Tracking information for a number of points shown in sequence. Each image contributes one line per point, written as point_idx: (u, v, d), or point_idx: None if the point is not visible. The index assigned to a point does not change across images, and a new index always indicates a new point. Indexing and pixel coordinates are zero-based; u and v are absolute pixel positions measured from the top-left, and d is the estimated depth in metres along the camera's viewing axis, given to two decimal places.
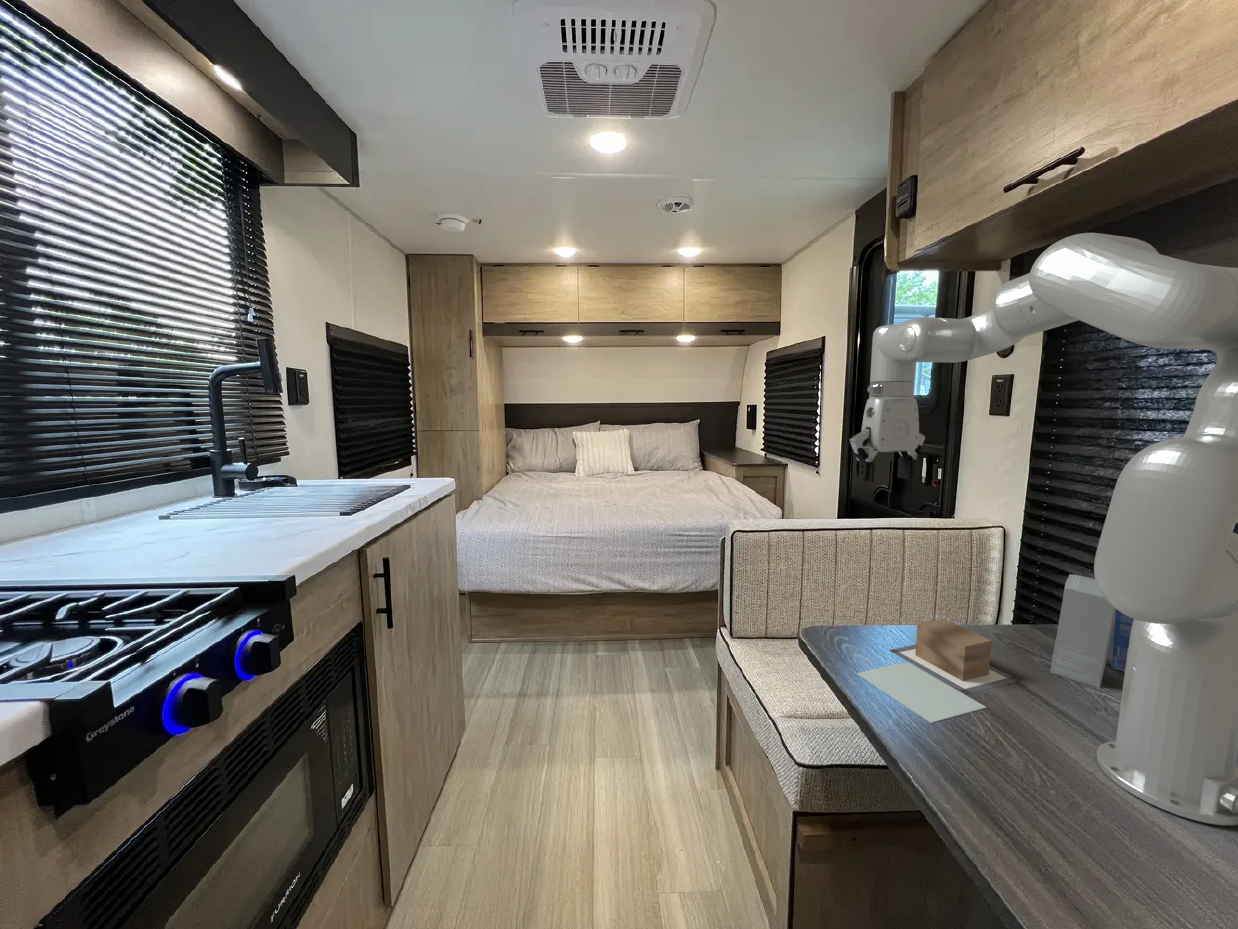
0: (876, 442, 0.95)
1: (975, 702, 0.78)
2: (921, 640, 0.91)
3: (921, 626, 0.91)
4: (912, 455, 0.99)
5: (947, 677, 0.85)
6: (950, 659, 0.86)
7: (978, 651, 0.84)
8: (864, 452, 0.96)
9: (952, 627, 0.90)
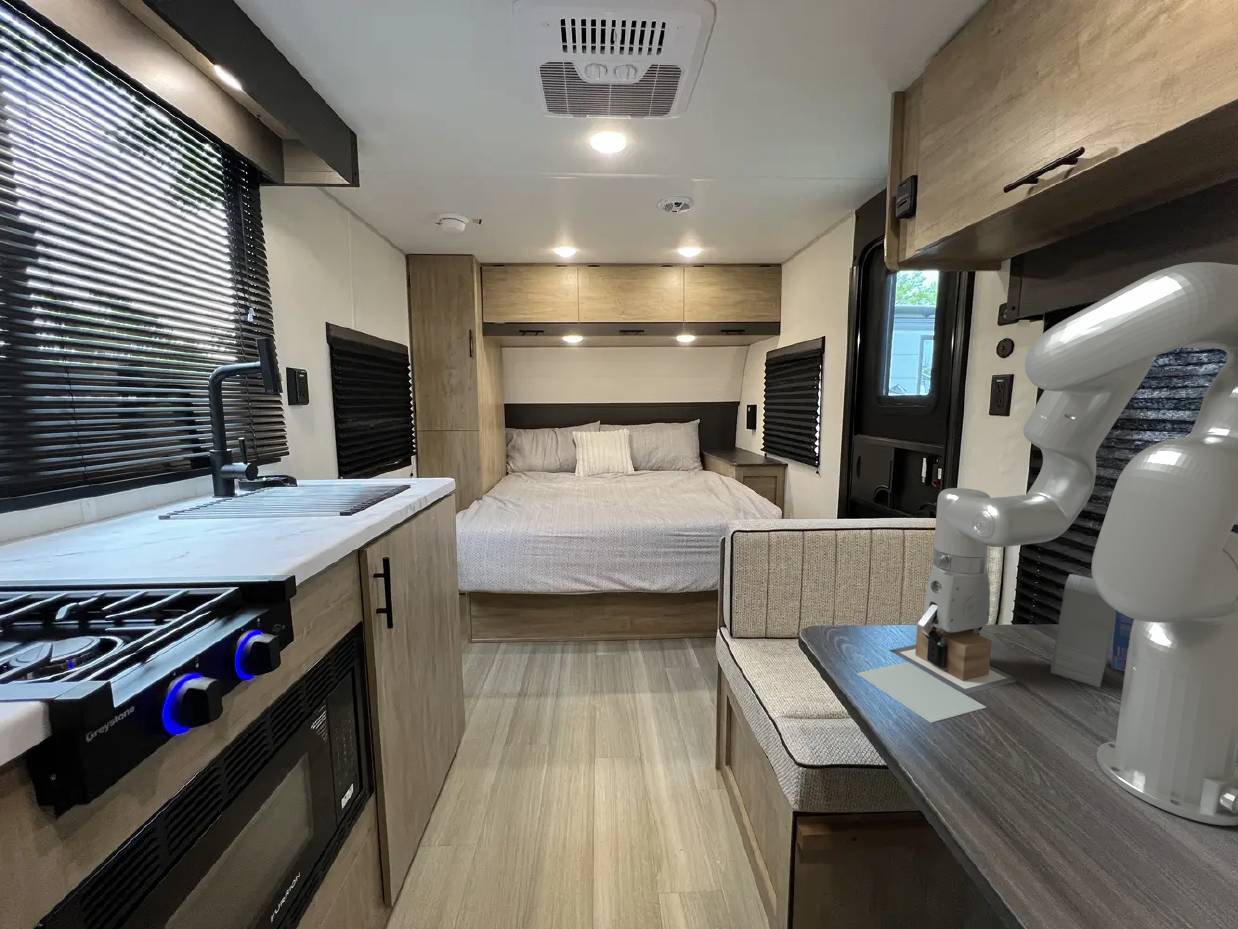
0: (944, 623, 0.84)
1: (975, 702, 0.78)
2: (921, 640, 0.91)
3: None
4: None
5: (947, 677, 0.85)
6: (950, 659, 0.86)
7: (978, 651, 0.84)
8: (936, 635, 0.86)
9: None
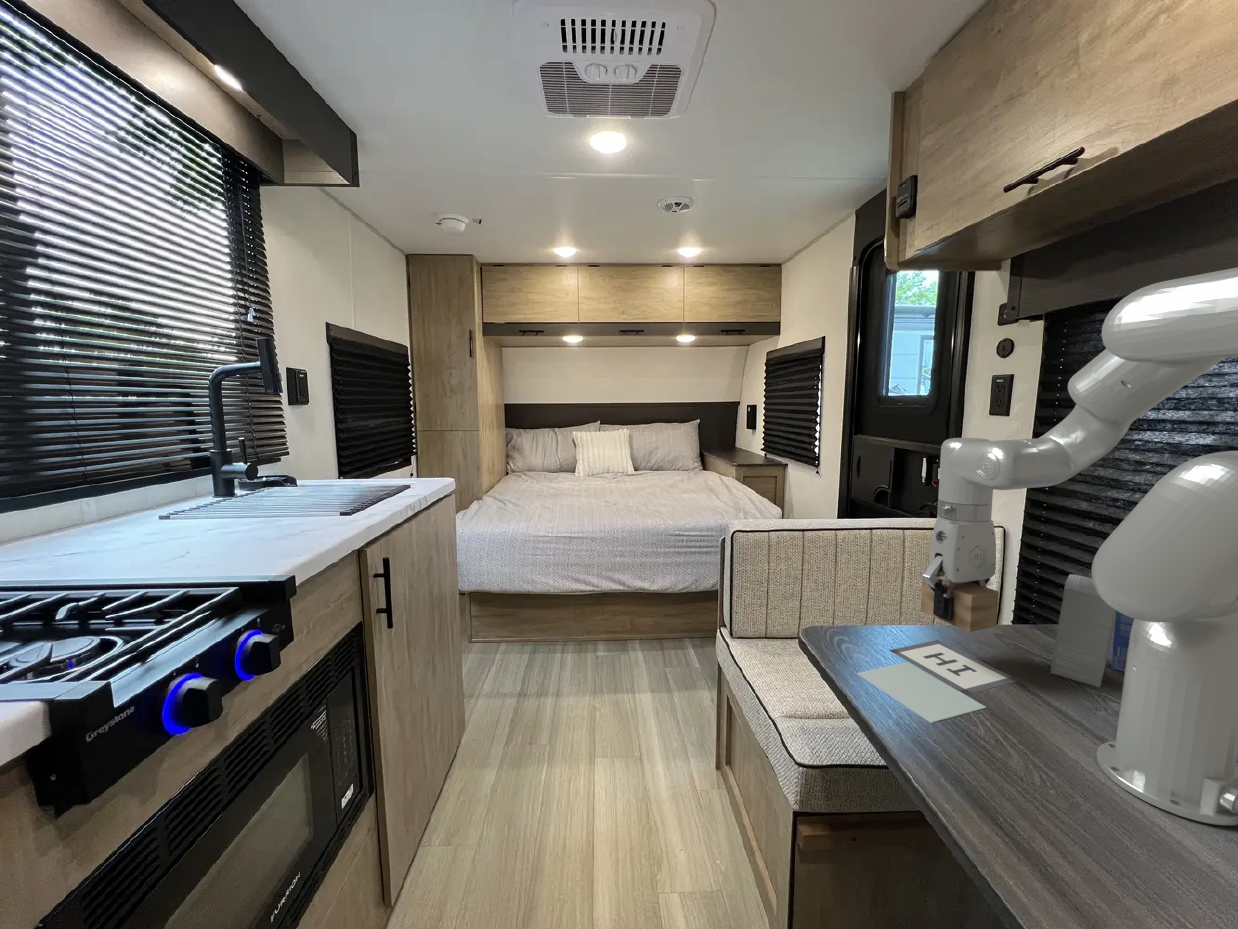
0: (950, 573, 0.83)
1: (975, 702, 0.78)
2: (927, 595, 0.89)
3: None
4: None
5: (947, 677, 0.85)
6: (956, 611, 0.84)
7: (985, 602, 0.83)
8: (942, 587, 0.84)
9: None
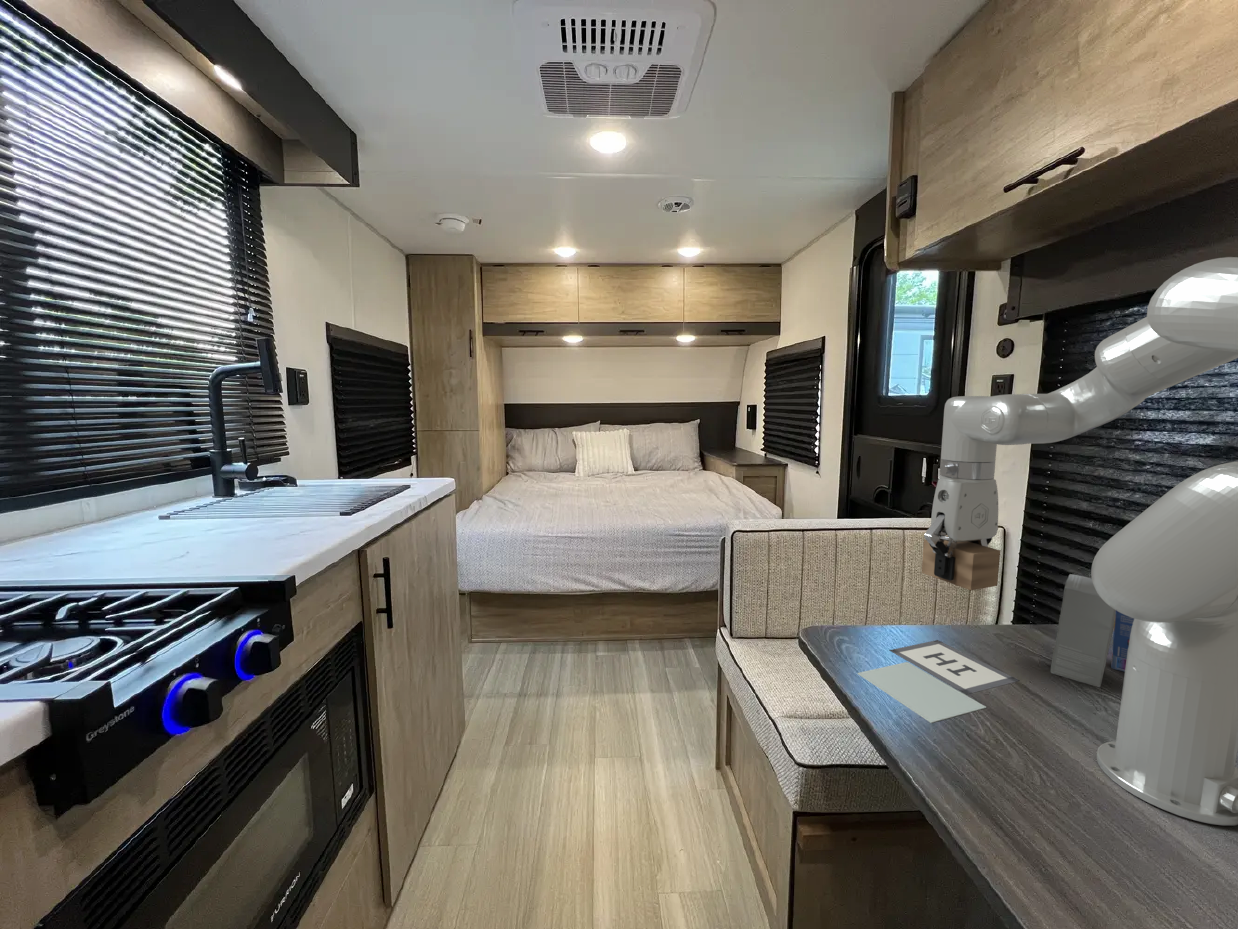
0: (951, 531, 0.82)
1: (975, 702, 0.78)
2: (927, 556, 0.89)
3: (927, 541, 0.89)
4: None
5: (947, 677, 0.85)
6: (957, 570, 0.84)
7: (987, 561, 0.82)
8: (943, 546, 0.84)
9: (959, 542, 0.88)
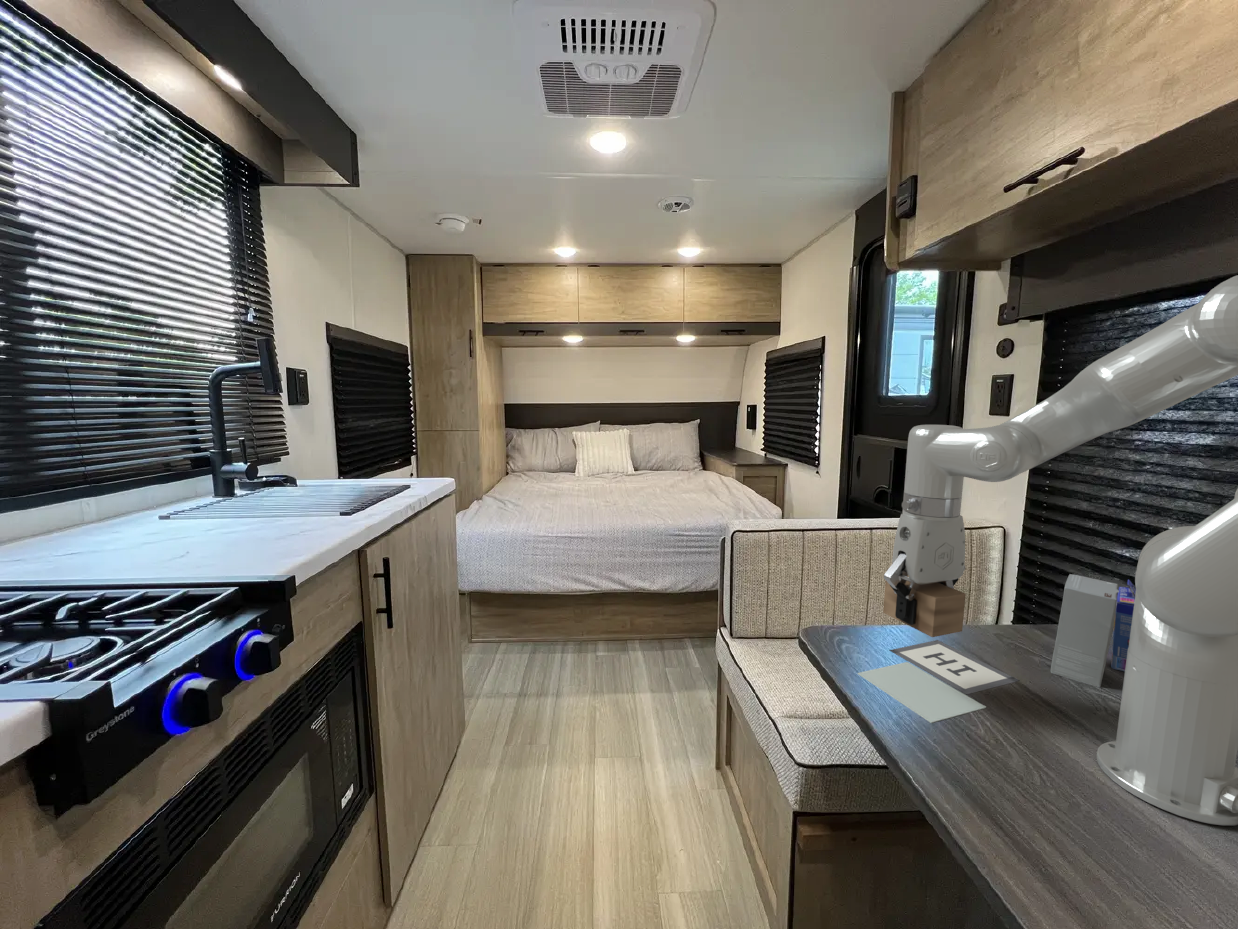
0: (913, 573, 0.75)
1: (975, 702, 0.78)
2: (889, 595, 0.82)
3: None
4: None
5: (947, 677, 0.85)
6: (919, 614, 0.77)
7: (950, 605, 0.76)
8: (904, 588, 0.77)
9: None
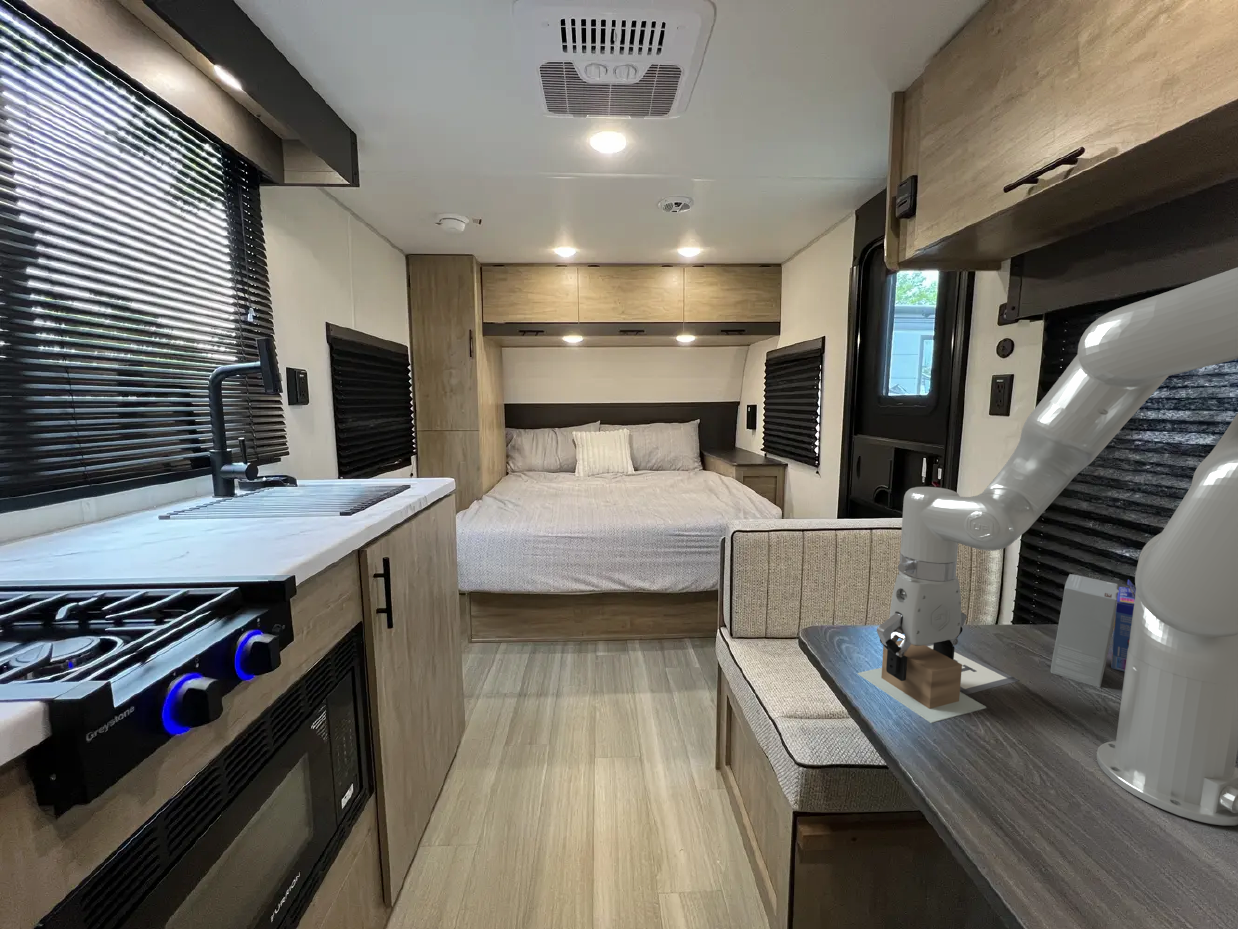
0: (909, 635, 0.77)
1: (975, 702, 0.78)
2: None
3: None
4: (952, 641, 0.81)
5: None
6: (916, 684, 0.78)
7: (947, 677, 0.77)
8: (894, 645, 0.78)
9: (921, 648, 0.82)
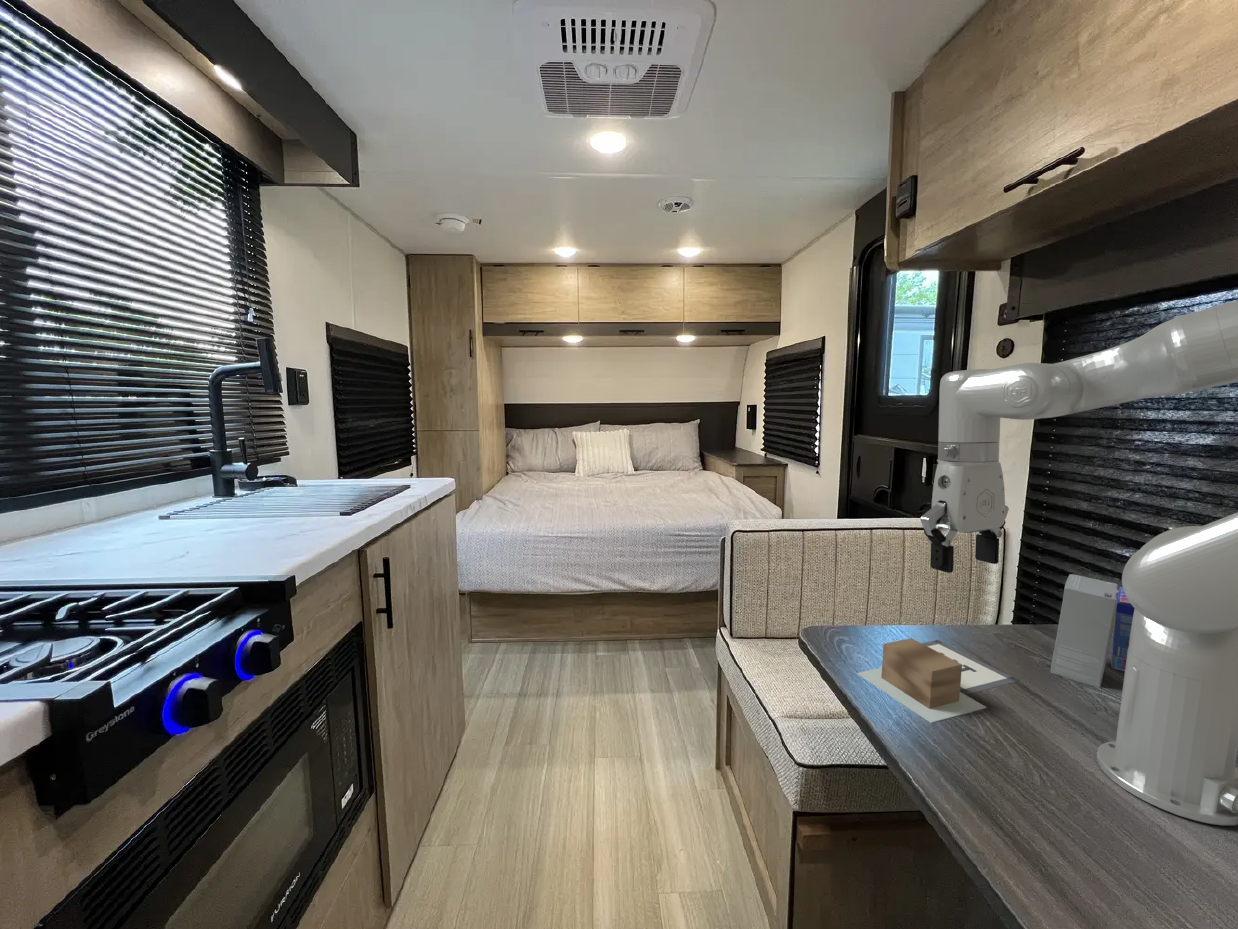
0: (956, 521, 0.73)
1: (975, 702, 0.78)
2: (887, 662, 0.83)
3: (887, 647, 0.83)
4: (996, 533, 0.78)
5: None
6: (916, 684, 0.78)
7: (947, 677, 0.77)
8: (940, 534, 0.74)
9: (921, 648, 0.82)
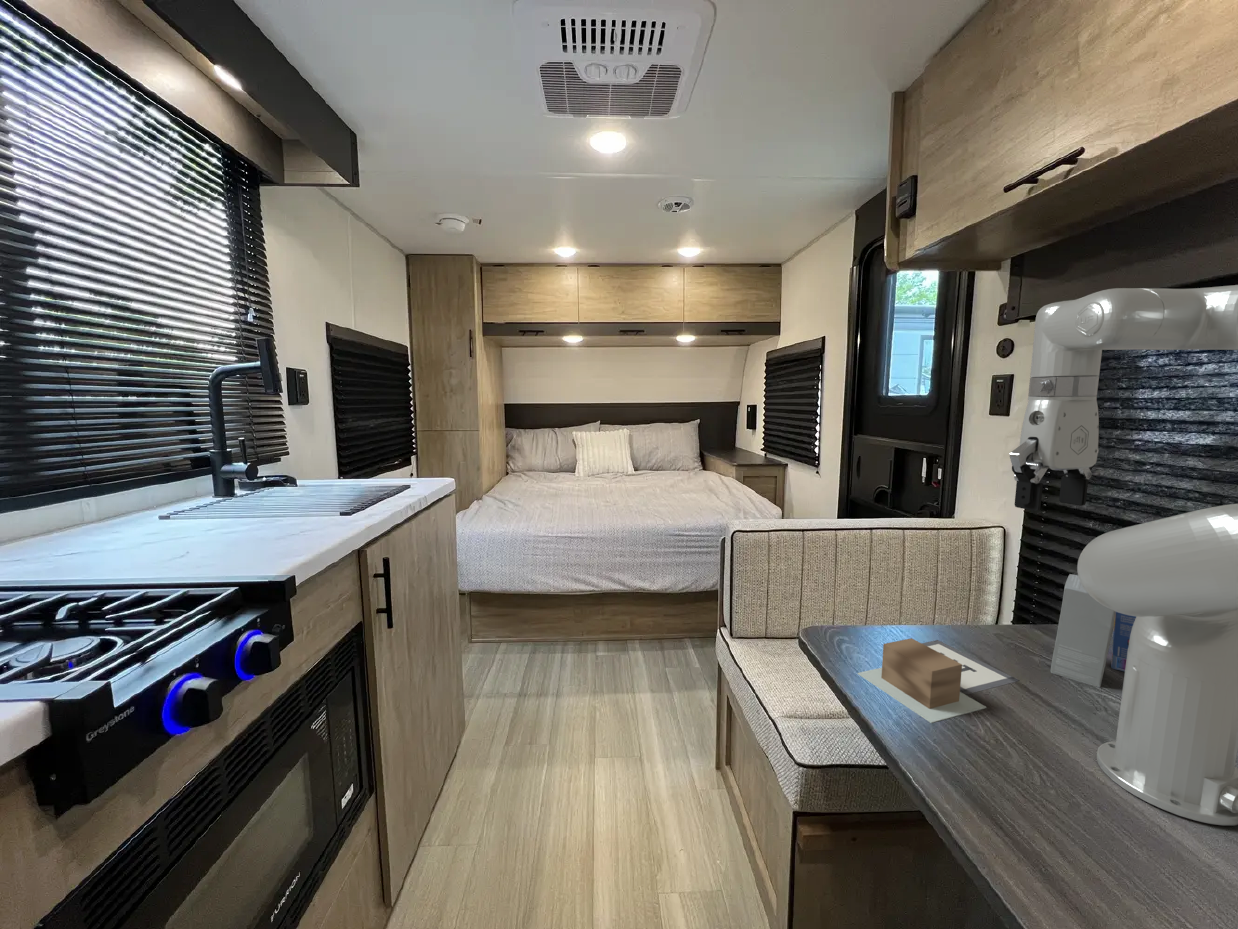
0: (1048, 457, 0.71)
1: (975, 702, 0.78)
2: (887, 662, 0.83)
3: (887, 647, 0.83)
4: (1085, 473, 0.75)
5: None
6: (916, 684, 0.78)
7: (947, 677, 0.77)
8: (1029, 470, 0.72)
9: (921, 648, 0.82)
